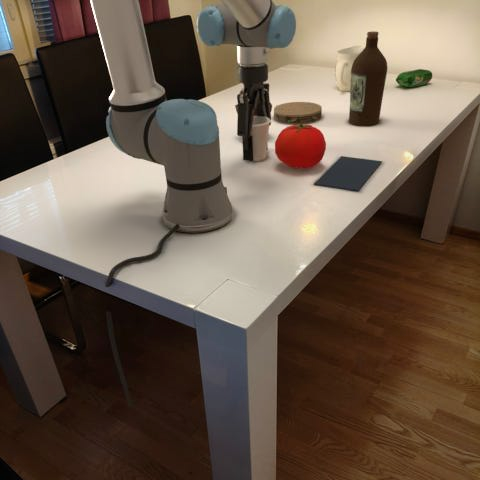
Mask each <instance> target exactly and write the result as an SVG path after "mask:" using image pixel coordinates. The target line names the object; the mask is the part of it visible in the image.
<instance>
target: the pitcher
mask: <svg viewBox="0 0 480 480" xmlns="http://www.w3.org/2000/svg"><path fill="white" fill-rule="evenodd" d="M363 50H364V48H363V47H361V45H354V46H351V47H347V48H342V49H339V50H338V51H337V61H336V64H335V67H334V68H335V70H334V76H335V78H334V79H335V82H336V85H337V88H338V89H339V91H341V92H347V93H348V92H350V88H351V68H352V65H353V62H354V60H355V59H356V57H357V56H358V55H359V54H360V53H361V52H362V51H363Z"/></svg>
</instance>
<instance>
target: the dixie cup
mask: <svg viewBox="0 0 480 480" xmlns="http://www.w3.org/2000/svg"><path fill="white" fill-rule="evenodd" d="M270 122H271V121H270V119H269V118H267V117H261V116H253V123H252V130H251V136H253V161H252V162H261V161H264V160H265V159H266V158H267V151H268V150H267V142H268V141H269V131H270V126H269V123H270ZM268 143H269V142H268Z"/></svg>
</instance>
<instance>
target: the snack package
mask: <svg viewBox="0 0 480 480" xmlns="http://www.w3.org/2000/svg"><path fill="white" fill-rule="evenodd" d="M432 79H433V72H432V70H429V69H423V68H419V69H414V70H408V71H403V72H400V73H399V74H398V75H397V76H396V78H395V82H396V83H397V84H398V86H400V87H406V88H416V87H421V86H424V85H427V84H429V83H430V81H431V80H432Z"/></svg>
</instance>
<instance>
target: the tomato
mask: <svg viewBox="0 0 480 480" xmlns="http://www.w3.org/2000/svg"><path fill="white" fill-rule="evenodd" d="M326 151H327V142H326V139H325V135H324V134H323V132H322V131H321V130H320V129H319V128H317V127H315V126H313V125H312V124H299V125H288V126H286V127H285V128H282V129H281V131H280V132H279V134H278V135H277V137H276V140H275V142H274V153H275V155H276V157H277V159H278V160H279V161H280V162H282V164H284V165H286V166H289V167H290V168H293V169H306V170H309V169H311V168H314V167H316V166H318V165H319V164H320V163H321V162H322V161H323V158H324V157H325V153H326Z"/></svg>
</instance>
